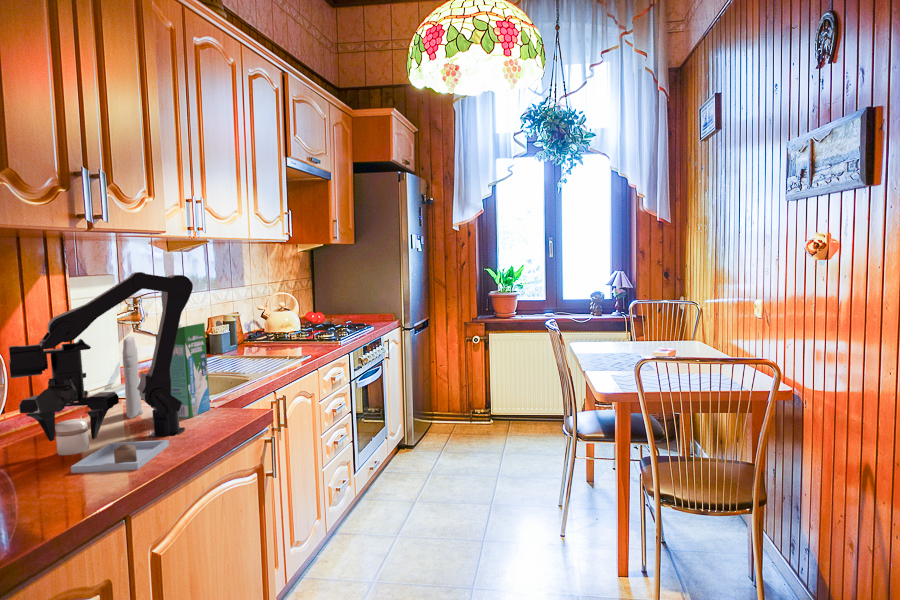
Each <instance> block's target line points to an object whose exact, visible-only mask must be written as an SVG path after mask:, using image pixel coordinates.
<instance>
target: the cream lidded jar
mask: <svg viewBox="0 0 900 600" xmlns="http://www.w3.org/2000/svg"><path fill="white" fill-rule="evenodd" d="M88 426H89V425H88V419H86V418H73V419H67V420H66V419H65V420H62V421H58V422H57V423H55V439H56V451H57V455H58V456H70V455H71V456H72V455H76V454H81V453H84V452H86V451H88V450H89V449H90V442H89V427H88Z"/></svg>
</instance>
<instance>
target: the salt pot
mask: <svg viewBox="0 0 900 600" xmlns="http://www.w3.org/2000/svg"><path fill="white" fill-rule="evenodd" d="M114 459H115V463H124V462H136V461H137V456H136V446H134V445H129V444H124V445H121V446H120V447H118V448H116V449H114Z"/></svg>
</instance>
